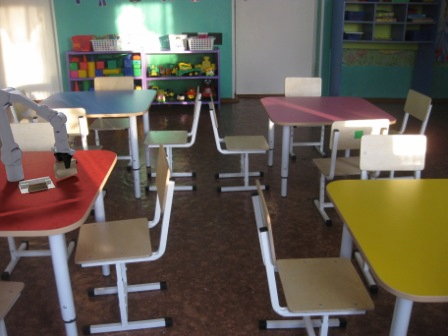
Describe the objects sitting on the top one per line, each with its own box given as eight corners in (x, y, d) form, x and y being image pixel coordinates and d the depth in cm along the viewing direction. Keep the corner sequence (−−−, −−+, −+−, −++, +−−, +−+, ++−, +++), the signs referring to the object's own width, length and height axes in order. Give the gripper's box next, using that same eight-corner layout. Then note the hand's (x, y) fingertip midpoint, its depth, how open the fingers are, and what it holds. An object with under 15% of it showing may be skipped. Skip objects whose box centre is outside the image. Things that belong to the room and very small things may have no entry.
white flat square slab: (18, 186, 212) (17, 181, 212) (50, 181, 219) (49, 175, 218) (22, 196, 201) (21, 190, 200) (55, 189, 207) (54, 184, 206)
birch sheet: (55, 178, 215) (53, 163, 212) (72, 172, 222) (71, 158, 220) (59, 179, 213) (57, 164, 211) (77, 173, 221) (75, 159, 219)
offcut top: (28, 186, 204) (28, 183, 204) (45, 183, 208) (44, 180, 207) (29, 188, 202) (29, 185, 201) (46, 185, 205) (45, 182, 205)
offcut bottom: (28, 189, 205) (27, 186, 204) (47, 186, 208) (46, 183, 208) (28, 191, 202) (28, 188, 202) (48, 188, 206) (47, 185, 205)
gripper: (43, 139, 213) (48, 167, 217) (64, 143, 205) (68, 172, 210) (56, 136, 219) (60, 163, 223) (77, 139, 211) (81, 168, 215)
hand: (65, 167), depth 217 cm, fingers closed on birch sheet, 3 cm apart
